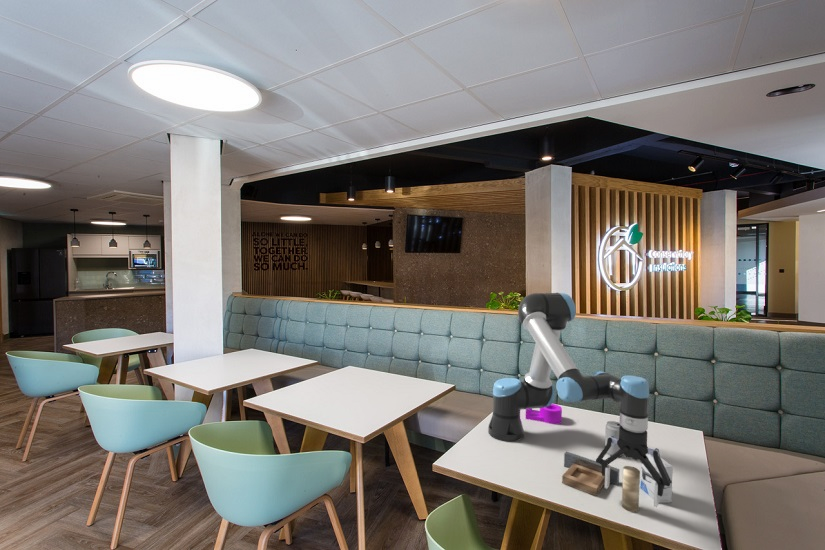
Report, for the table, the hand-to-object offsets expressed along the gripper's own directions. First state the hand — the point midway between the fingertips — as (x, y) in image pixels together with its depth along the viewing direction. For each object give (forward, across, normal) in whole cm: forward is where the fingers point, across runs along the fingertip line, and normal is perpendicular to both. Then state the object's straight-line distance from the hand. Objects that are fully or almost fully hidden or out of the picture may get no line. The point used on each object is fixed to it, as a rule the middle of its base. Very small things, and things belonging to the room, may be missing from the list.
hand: (630, 495), depth 121 cm
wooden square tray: (+4, -15, +4) cm, 16 cm away
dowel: (+4, 0, 0) cm, 4 cm away
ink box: (+4, +4, +13) cm, 14 cm away
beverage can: (+4, -13, +33) cm, 36 cm away
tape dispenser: (+4, -47, +47) cm, 67 cm away
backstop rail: (+4, -15, +11) cm, 19 cm away
